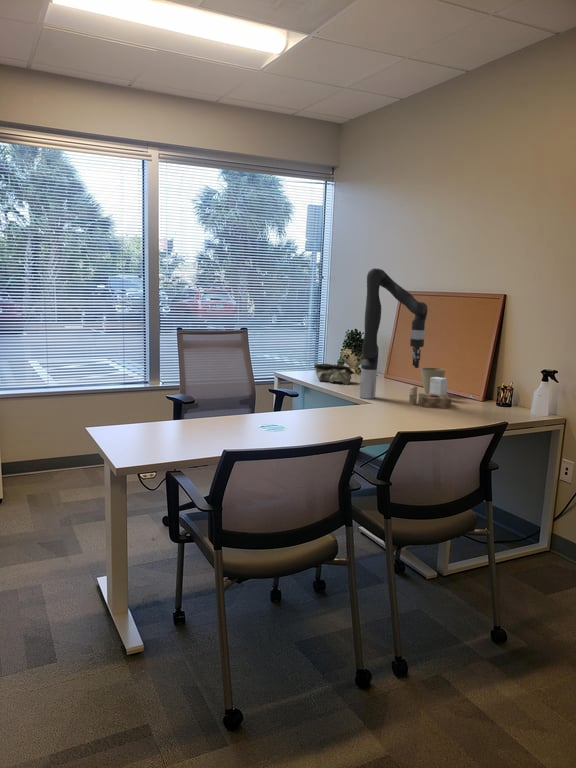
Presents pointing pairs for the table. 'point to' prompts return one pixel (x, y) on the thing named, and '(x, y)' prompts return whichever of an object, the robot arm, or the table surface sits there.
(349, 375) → the mossy rock
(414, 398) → the beech peg
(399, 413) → the table surface
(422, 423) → the table surface
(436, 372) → the plant pot
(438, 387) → the small box
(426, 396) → the walnut board
